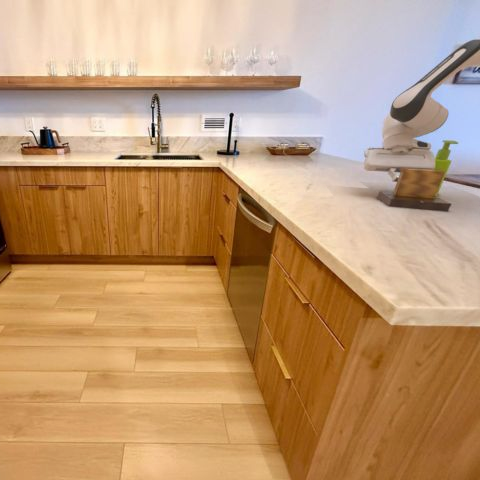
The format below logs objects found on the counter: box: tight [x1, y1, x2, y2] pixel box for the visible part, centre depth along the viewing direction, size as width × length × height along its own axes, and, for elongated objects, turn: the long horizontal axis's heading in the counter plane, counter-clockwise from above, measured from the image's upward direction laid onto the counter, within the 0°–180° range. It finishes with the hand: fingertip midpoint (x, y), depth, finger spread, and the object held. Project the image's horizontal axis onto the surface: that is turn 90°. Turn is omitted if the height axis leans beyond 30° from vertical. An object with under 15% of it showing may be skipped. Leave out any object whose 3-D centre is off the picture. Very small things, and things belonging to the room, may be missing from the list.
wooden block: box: [393, 168, 445, 199], centre depth 96 cm, size 11×2×9 cm, turn 70°
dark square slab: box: [376, 189, 452, 212], centre depth 99 cm, size 16×15×3 cm
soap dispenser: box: [433, 140, 459, 197], centre depth 107 cm, size 6×7×20 cm
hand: (398, 181), depth 100 cm, fingers closed
